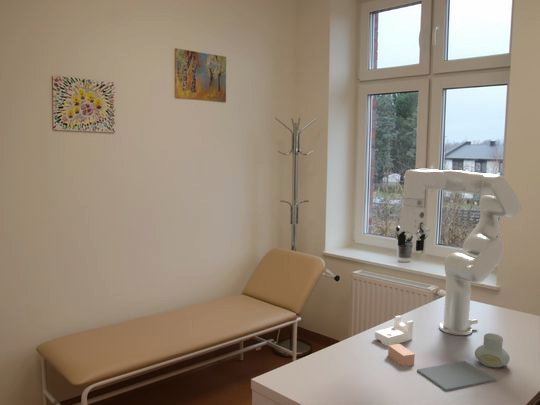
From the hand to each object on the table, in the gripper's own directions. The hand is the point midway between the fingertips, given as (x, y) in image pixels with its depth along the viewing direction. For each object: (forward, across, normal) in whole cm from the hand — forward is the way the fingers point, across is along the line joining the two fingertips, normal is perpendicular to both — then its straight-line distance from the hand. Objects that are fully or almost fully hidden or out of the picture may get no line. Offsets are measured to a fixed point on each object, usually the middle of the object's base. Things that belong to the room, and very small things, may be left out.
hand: (410, 247), depth 188 cm
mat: (+36, -31, +5) cm, 48 cm away
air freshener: (+36, -29, -13) cm, 48 cm away
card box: (+36, -14, +14) cm, 41 cm away
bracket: (+36, +2, +4) cm, 37 cm away
